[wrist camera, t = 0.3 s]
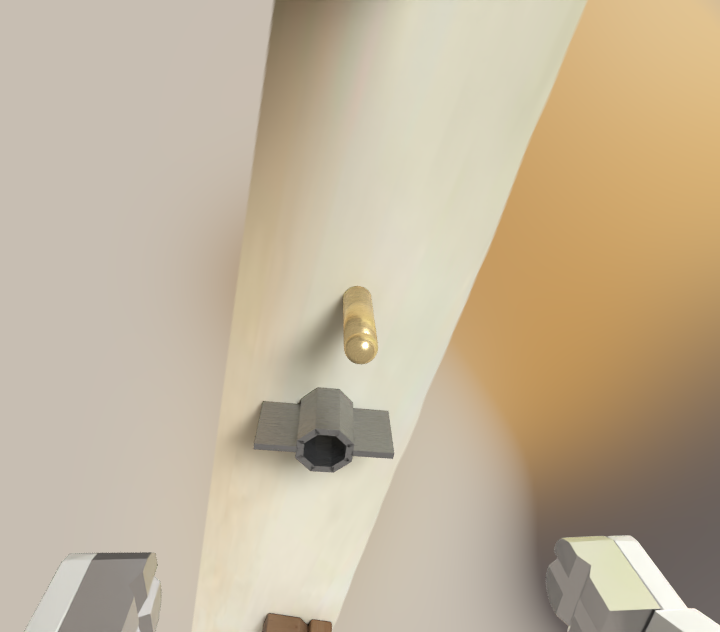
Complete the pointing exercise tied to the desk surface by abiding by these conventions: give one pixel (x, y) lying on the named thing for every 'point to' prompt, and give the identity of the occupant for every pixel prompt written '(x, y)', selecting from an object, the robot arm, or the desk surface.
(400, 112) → the desk surface
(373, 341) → the brass pin
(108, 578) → the robot arm
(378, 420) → the octagonal sleeve with tab
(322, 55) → the desk surface
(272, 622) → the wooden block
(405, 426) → the desk surface
